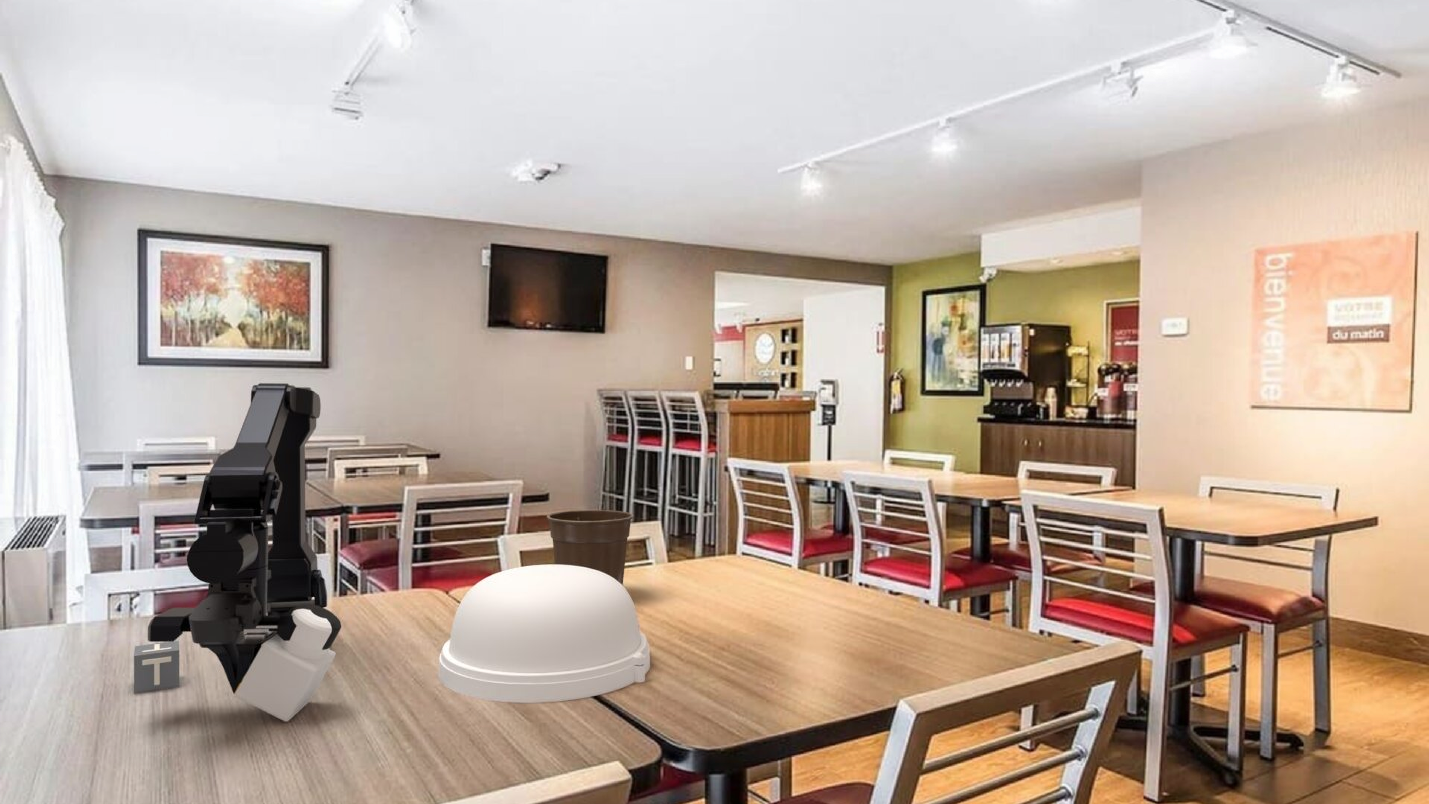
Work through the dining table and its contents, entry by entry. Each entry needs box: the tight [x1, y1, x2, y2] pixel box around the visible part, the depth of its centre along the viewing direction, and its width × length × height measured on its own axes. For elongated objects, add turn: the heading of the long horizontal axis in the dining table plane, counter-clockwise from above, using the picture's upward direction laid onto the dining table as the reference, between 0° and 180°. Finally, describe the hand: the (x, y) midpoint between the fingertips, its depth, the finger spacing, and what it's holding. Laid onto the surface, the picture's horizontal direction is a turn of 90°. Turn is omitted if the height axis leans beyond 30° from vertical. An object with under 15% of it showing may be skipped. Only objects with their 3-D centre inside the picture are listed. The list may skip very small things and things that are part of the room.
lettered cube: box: [133, 640, 180, 695], centre depth 116 cm, size 5×5×5 cm
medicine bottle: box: [233, 604, 342, 723], centre depth 107 cm, size 7×7×12 cm
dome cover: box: [437, 563, 651, 704], centre depth 126 cm, size 32×30×14 cm
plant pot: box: [546, 509, 634, 586], centre depth 166 cm, size 16×16×16 cm
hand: (238, 694), depth 107 cm, fingers closed, pressing on medicine bottle
